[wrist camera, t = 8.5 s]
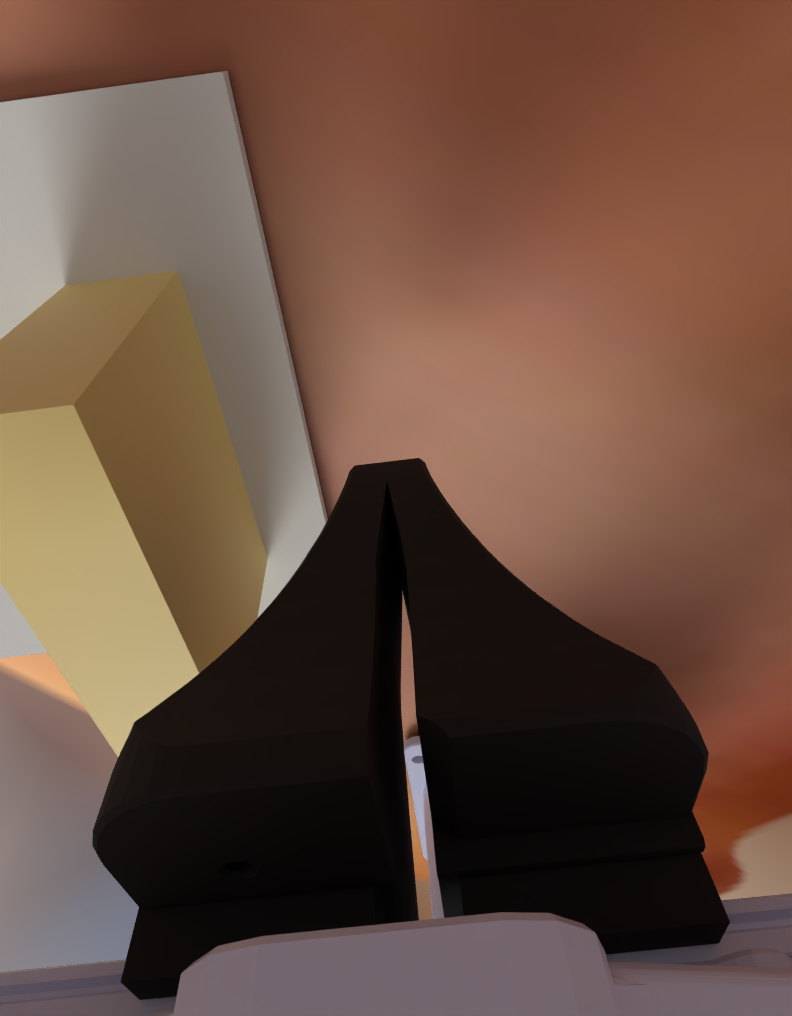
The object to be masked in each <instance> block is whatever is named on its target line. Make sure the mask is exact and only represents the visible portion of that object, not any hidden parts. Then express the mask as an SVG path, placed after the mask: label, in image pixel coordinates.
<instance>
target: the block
mask: <svg viewBox="0 0 792 1016" xmlns="http://www.w3.org/2000/svg"><path fill="white" fill-rule="evenodd" d="M267 560H268V557H267V554H266V551H265V547H264V544H263V541H262V538H261V535H260V531H259V528H258V525H257V522H256V519H255V515H254V512H253V509H252V506H251V503H250V499H249V496H248V493H247V490H246V487H245V483H244V480H243V477H242V474H241V471H240V467H239V464H238V461H237V458H236V455H235V451H234V448H233V445H232V442H231V439H230V436H229V432H228V429H227V426H226V423H225V420H224V416H223V413H222V410H221V407H220V404H219V400H218V397H217V394H216V391H215V388H214V384H213V381H212V378H211V375H210V372H209V368H208V365H207V362H206V359H205V356H204V352H203V349H202V346H201V343H200V340H199V336H198V333H197V330H196V327H195V324H194V320H193V317H192V314H191V311H190V308H189V304H188V301H187V298H186V295H185V292H184V288H183V285H182V282H181V279H180V276H179V272H178V271H171V272H164V273H156V274H148V275H141V276H133V277H126V278H118V279H110V280H103V281H95V282H87V283H80V284H72V285H65V286H64V287H63V288H61V289H60V290H59V291H58V292H57V293H55V294H54V295H53V296H52V297H51V298H49V299H48V300H47V301H46V302H45V303H43V304H42V305H41V306H40V307H39V308H37V309H36V310H35V311H34V312H33V313H31V314H30V315H29V316H28V317H27V318H26V319H24V320H23V321H22V322H21V323H20V324H18V325H17V326H16V327H15V328H14V329H12V330H11V331H10V332H9V333H8V334H6V335H5V336H4V337H3V338H2V339H0V582H1V584H2V585H3V587H4V588H5V590H6V591H7V593H8V594H9V596H10V597H11V599H12V600H13V602H14V603H15V605H16V606H17V608H18V609H19V611H20V612H21V614H22V615H23V617H24V618H25V620H26V621H27V622H28V624H29V625H30V627H31V628H32V630H33V631H34V633H35V634H36V636H37V637H38V639H39V640H40V642H41V643H42V645H43V646H44V648H45V649H46V651H47V652H48V654H49V655H50V657H51V658H52V660H53V661H54V663H55V664H56V666H57V667H58V668H59V670H60V671H61V673H62V674H63V676H64V677H65V679H66V680H67V682H68V683H69V685H70V686H71V688H72V689H73V691H74V692H75V694H76V695H77V697H78V698H79V700H80V701H81V703H82V704H83V706H84V707H85V709H86V710H87V712H88V713H89V714H90V716H91V717H92V719H93V720H94V722H95V723H96V725H97V726H98V728H99V729H100V731H101V732H102V734H103V735H104V737H105V738H106V739H107V741H108V742H109V744H110V745H111V747H112V748H113V750H114V752H115V753H116V755H117V756H118V757H119V755H120V752H121V750H122V748H123V746H124V744H125V742H126V740H127V738H128V736H129V734H130V731H131V729H132V726H133V724H134V722H135V721H136V720H138V719H139V718H141V717H142V716H144V715H145V714H146V713H148V712H149V711H151V710H152V709H153V708H155V707H156V706H157V705H159V704H160V703H161V702H163V701H164V700H165V699H167V698H168V697H169V696H171V695H172V694H173V693H175V692H176V691H177V690H179V689H180V688H181V687H183V686H184V685H185V684H187V683H188V682H189V681H190V680H192V679H193V678H194V677H195V676H197V675H198V674H199V673H200V672H202V671H203V670H204V669H205V668H206V667H207V666H209V665H210V664H211V663H212V662H213V661H214V660H216V659H217V658H218V657H219V656H220V655H221V654H222V653H223V652H224V651H226V650H227V649H228V648H229V647H230V646H231V645H232V644H233V643H234V642H235V641H236V640H237V639H238V638H239V637H240V636H241V635H242V634H243V633H244V632H245V631H246V630H247V629H248V628H249V627H250V626H251V625H252V624H253V623H254V622H255V621H256V619H257V618H258V612H259V606H260V600H261V595H262V589H263V583H264V577H265V571H266V566H267Z"/></svg>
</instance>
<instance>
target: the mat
mask: <svg viewBox="0 0 792 1016" xmlns="http://www.w3.org/2000/svg"><path fill="white" fill-rule="evenodd" d="M171 271H178V272H179V276H180V279H181V282H182V285H183V288H184V292H185V295H186V298H187V301H188V304H189V308H190V311H191V314H192V317H193V320H194V324H195V327H196V330H197V333H198V336H199V340H200V343H201V346H202V349H203V352H204V356H205V359H206V362H207V365H208V368H209V372H210V375H211V378H212V381H213V384H214V388H215V391H216V394H217V397H218V400H219V404H220V407H221V410H222V413H223V416H224V420H225V423H226V426H227V429H228V432H229V436H230V439H231V442H232V445H233V448H234V451H235V455H236V458H237V461H238V464H239V467H240V471H241V474H242V477H243V480H244V483H245V487H246V490H247V493H248V496H249V499H250V503H251V506H252V509H253V512H254V515H255V519H256V522H257V525H258V528H259V531H260V535H261V538H262V541H263V544H264V547H265V551H266V554H267V557H268V560H267V566H266V571H265V577H264V583H263V589H262V595H261V600H260V606H259V612H258V617H259V616H260V615H261V614H262V613H263V612H264V610H265V609H266V608H267V607H268V606H269V605H270V604H271V603H272V601H273V600H274V599H275V598H276V597H277V595H278V594H279V593H280V592H281V590H282V589H283V588H284V587H285V585H286V584H287V583H288V581H289V580H290V579H291V577H292V576H293V575H294V573H295V572H296V570H297V569H298V568H299V566H300V565H301V563H302V562H303V560H304V559H305V557H306V555H307V554H308V552H309V551H310V549H311V548H312V546H313V544H314V543H315V541H316V540H317V538H318V536H319V535H320V533H321V531H322V529H323V528H324V526H325V524H326V522H327V520H328V518H327V514H326V509H325V505H324V500H323V496H322V491H321V487H320V482H319V478H318V473H317V469H316V464H315V460H314V455H313V451H312V446H311V442H310V438H309V433H308V429H307V424H306V420H305V415H304V411H303V406H302V402H301V397H300V393H299V388H298V384H297V379H296V375H295V370H294V366H293V362H292V357H291V353H290V348H289V344H288V339H287V335H286V330H285V326H284V321H283V317H282V312H281V308H280V303H279V299H278V294H277V290H276V286H275V281H274V277H273V272H272V268H271V263H270V259H269V254H268V250H267V245H266V241H265V236H264V232H263V227H262V223H261V218H260V214H259V210H258V205H257V201H256V196H255V192H254V187H253V183H252V178H251V174H250V169H249V165H248V160H247V156H246V151H245V147H244V142H243V138H242V134H241V129H240V125H239V120H238V116H237V111H236V107H235V102H234V98H233V93H232V89H231V84H230V80H229V75H228V71H221V72H214V73H207V74H199V75H192V76H185V77H178V78H171V79H163V80H156V81H149V82H142V83H134V84H127V85H120V86H113V87H106V88H98V89H91V90H84V91H77V92H69V93H62V94H55V95H48V96H41V97H33V98H26V99H19V100H12V101H4V102H0V339H2V338H3V337H4V336H5V335H6V334H8V333H9V332H10V331H11V330H12V329H14V328H15V327H16V326H17V325H18V324H20V323H21V322H22V321H23V320H24V319H26V318H27V317H28V316H29V315H30V314H31V313H33V312H34V311H35V310H36V309H37V308H39V307H40V306H41V305H42V304H43V303H45V302H46V301H47V300H48V299H49V298H51V297H52V296H53V295H54V294H55V293H57V292H58V291H59V290H60V289H61V288H63V287H64V286H65V285H72V284H80V283H87V282H95V281H103V280H110V279H118V278H126V277H133V276H141V275H148V274H156V273H164V272H171ZM41 653H48V652H47V651H46V649H45V648H44V646H43V645H42V643H41V642H40V640H39V639H38V637H37V636H36V634H35V633H34V631H33V630H32V628H31V627H30V625H29V624H28V622H27V621H26V620H25V618H24V617H23V615H22V614H21V612H20V611H19V609H18V608H17V606H16V605H15V603H14V602H13V600H12V599H11V597H10V596H9V594H8V593H7V591H6V590H5V588H4V587H3V585H2V584H1V582H0V658H6V657H14V656H23V655H32V654H41Z"/></svg>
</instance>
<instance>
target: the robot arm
mask: <svg viewBox="0 0 792 1016" xmlns="http://www.w3.org/2000/svg"><path fill="white" fill-rule="evenodd" d="M402 590H403V595H404V600H405V605H406V610H407V615H408V620H409V625H410V630H411V637H412V651H413V667H414V684H415V702H416V717H417V724H418V730H419V736H414V737H410V738H409V739H407V740H406V741H405V742H403V729H402V716H401V639H402ZM708 753H709V752H708V750H707V748H706V746H705V743H704V741H703V738H702V736H701V734H700V731H699V729H698V727H697V725H696V723H695V721H694V720H693V718H692V716H691V714H690V712H689V711H688V709H687V708H686V706H685V705H684V703H683V702H682V700H681V699H680V697H679V696H678V694H677V693H676V691H675V690H674V688H673V687H672V685H671V684H670V683H669V681H668V680H667V678H666V677H665V676H664V674H663V673H662V671H661V670H660V669H659V667H658V666H657V665H656V664H654V663H652V662H650V661H648V660H646V659H644V658H642V657H640V656H638V655H636V654H634V653H632V652H630V651H628V650H626V649H624V648H623V647H621V646H619V645H617V644H615V643H613V642H611V641H609V640H607V639H605V638H603V637H601V636H599V635H598V634H596V633H594V632H593V631H591V630H589V629H588V628H586V627H584V626H583V625H581V624H579V623H578V622H576V621H574V620H573V619H571V618H570V617H568V616H567V615H566V614H564V613H563V612H561V611H560V610H559V609H557V608H556V607H554V606H553V605H552V604H550V603H549V602H547V601H546V600H545V599H543V598H542V597H540V596H539V595H537V594H536V593H535V592H534V591H532V590H531V589H530V588H529V587H528V586H526V585H525V584H524V583H523V582H521V581H520V580H519V579H518V578H517V577H515V576H514V575H513V574H512V573H511V572H510V571H509V570H508V569H507V568H506V567H504V566H503V565H502V564H501V563H500V562H499V561H498V560H497V559H496V558H495V557H494V556H493V555H492V554H491V553H490V552H489V551H488V550H487V549H486V548H485V547H484V546H483V545H482V544H481V543H480V541H479V540H478V539H477V538H476V537H475V536H474V535H473V534H472V533H471V531H470V530H469V529H468V528H467V527H466V525H465V524H464V523H463V522H462V521H461V519H460V518H459V517H458V515H457V514H456V513H455V511H454V510H453V509H452V508H451V506H450V505H449V504H448V502H447V501H446V499H445V498H444V496H443V495H442V493H441V492H440V490H439V489H438V487H437V486H436V484H435V482H434V481H433V479H432V477H431V475H430V473H429V471H428V469H427V467H426V464H425V462H423V461H422V460H421V459H420V458H415V459H407V460H399V461H390V462H382V463H373V464H365V465H356V466H354V467H353V468H352V469H351V470H350V472H349V475H348V478H347V480H346V483H345V485H344V488H343V490H342V492H341V494H340V497H339V499H338V501H337V503H336V505H335V507H334V509H333V511H332V513H331V515H330V517H329V518H328V520H327V522H326V524H325V526H324V528H323V529H322V531H321V533H320V535H319V536H318V538H317V540H316V541H315V543H314V544H313V546H312V548H311V549H310V551H309V552H308V554H307V555H306V557H305V559H304V560H303V562H302V563H301V565H300V566H299V568H298V569H297V570H296V572H295V573H294V575H293V576H292V577H291V579H290V580H289V581H288V583H287V584H286V585H285V587H284V588H283V589H282V590H281V592H280V593H279V594H278V595H277V597H276V598H275V599H274V600H273V601H272V603H271V604H270V605H269V606H268V607H267V608H266V609H265V610H264V612H263V613H262V614H261V615H260V616H259V617H258V618H257V619H256V621H255V622H254V623H253V624H252V625H251V626H250V627H249V628H248V629H247V630H246V631H245V632H244V633H243V634H242V635H241V636H240V637H239V638H238V639H237V640H236V641H235V642H234V643H233V644H232V645H231V646H230V647H229V648H228V649H227V650H226V651H224V652H223V653H222V654H221V655H220V656H219V657H218V658H217V659H216V660H214V661H213V662H212V663H211V664H210V665H209V666H207V667H206V668H205V669H204V670H203V671H202V672H200V673H199V674H198V675H197V676H195V677H194V678H193V679H192V680H190V681H189V682H188V683H187V684H185V685H184V686H183V687H181V688H180V689H179V690H177V691H176V692H175V693H173V694H172V695H171V696H169V697H168V698H167V699H165V700H164V701H163V702H161V703H160V704H159V705H157V706H156V707H155V708H153V709H152V710H151V711H149V712H148V713H146V714H145V715H144V716H142V717H141V718H139V719H138V720H136V721H135V722H134V724H133V726H132V729H131V731H130V734H129V736H128V738H127V740H126V742H125V744H124V746H123V748H122V750H121V752H120V755H119V757H118V760H117V762H116V764H115V767H114V769H113V772H112V775H111V778H110V781H109V784H108V787H107V790H106V793H105V796H104V799H103V802H102V805H101V808H100V811H99V814H98V817H97V820H96V823H95V826H94V829H93V847H94V849H95V851H96V853H97V855H98V857H99V858H100V860H101V862H102V863H103V865H104V866H105V867H106V868H107V870H108V871H109V872H110V873H111V874H112V876H113V877H114V878H115V879H116V880H117V881H118V883H119V884H120V885H121V886H122V887H123V888H124V890H125V891H126V892H127V893H128V894H129V896H130V897H131V898H132V899H133V900H134V901H135V903H136V904H137V905H138V906H139V910H138V914H137V918H136V922H135V926H134V930H133V934H132V938H131V942H130V946H129V950H128V954H127V958H126V960H118V961H108V962H98V963H87V964H77V965H67V966H58V967H47V968H37V969H27V970H17V971H8V972H0V1016H792V894H782V895H771V896H761V897H752V898H741V899H732V900H721V899H720V897H719V894H718V892H717V889H716V887H715V885H714V882H713V880H712V878H711V875H710V873H709V871H708V868H707V866H706V863H705V861H704V859H703V856H702V854H701V852H703V851H704V849H705V842H704V838H703V835H702V833H701V831H700V828H699V826H698V824H697V821H696V819H695V817H694V815H693V812H692V810H693V807H694V805H695V802H696V799H697V796H698V793H699V790H700V787H701V784H702V781H703V778H704V775H705V773H706V770H707V762H708ZM404 754H405V755H404ZM405 760H406V765H407V771H408V776H409V782H410V787H411V793H412V798H413V804H414V809H415V814H416V820H417V825H418V831H419V836H420V842H421V847H422V853H423V857H424V858H425V859H426V860H428V870H429V881H430V892H431V905H432V916H433V919H429V920H419V917H418V906H417V895H416V884H415V873H414V861H413V850H412V838H411V827H410V815H409V803H408V791H407V779H406V767H405Z"/></svg>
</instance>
